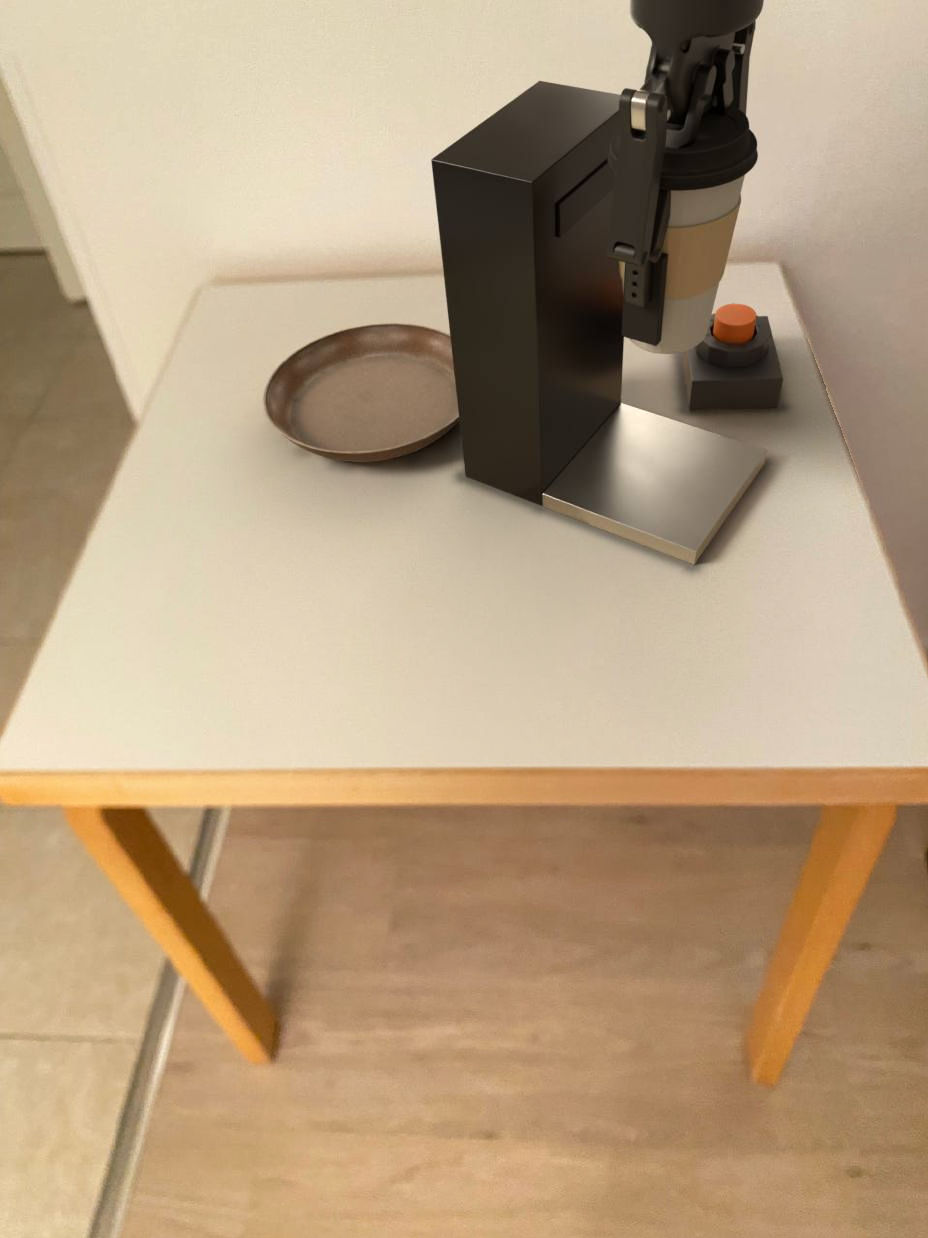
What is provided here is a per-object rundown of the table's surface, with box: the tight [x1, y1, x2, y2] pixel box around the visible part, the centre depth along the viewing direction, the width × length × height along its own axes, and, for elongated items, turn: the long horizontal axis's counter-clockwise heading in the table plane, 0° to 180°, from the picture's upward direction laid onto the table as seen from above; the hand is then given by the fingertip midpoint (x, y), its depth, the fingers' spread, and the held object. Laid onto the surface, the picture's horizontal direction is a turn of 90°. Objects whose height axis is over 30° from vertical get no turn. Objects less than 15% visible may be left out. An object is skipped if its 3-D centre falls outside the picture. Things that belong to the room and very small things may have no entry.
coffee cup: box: [607, 105, 759, 355], centre depth 66 cm, size 9×9×15 cm
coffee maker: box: [431, 80, 768, 565], centre depth 75 cm, size 22×14×28 cm, turn 56°
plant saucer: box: [262, 322, 460, 463], centre depth 92 cm, size 21×21×3 cm
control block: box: [680, 312, 784, 411], centre depth 91 cm, size 10×8×5 cm
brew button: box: [713, 303, 757, 344], centre depth 88 cm, size 4×4×2 cm
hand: (669, 306), depth 71 cm, fingers closed on coffee cup, 8 cm apart
